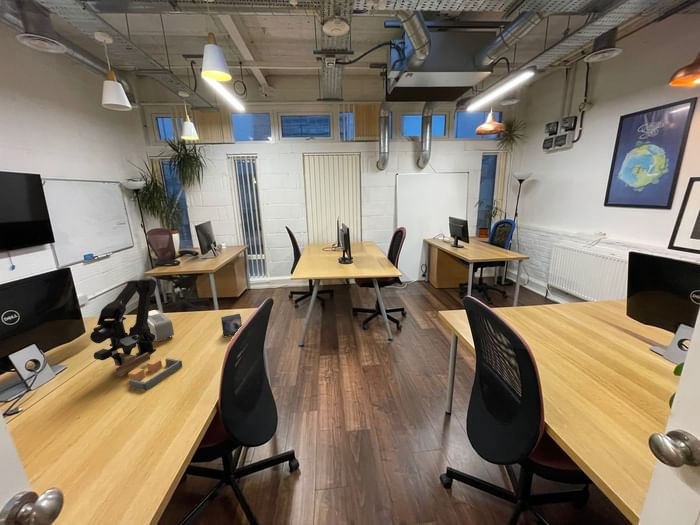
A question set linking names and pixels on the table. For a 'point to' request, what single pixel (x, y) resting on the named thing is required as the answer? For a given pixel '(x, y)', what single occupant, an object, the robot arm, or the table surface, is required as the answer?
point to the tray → (146, 385)
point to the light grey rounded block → (159, 325)
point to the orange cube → (154, 365)
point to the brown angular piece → (130, 362)
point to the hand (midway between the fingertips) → (124, 362)
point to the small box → (231, 324)
